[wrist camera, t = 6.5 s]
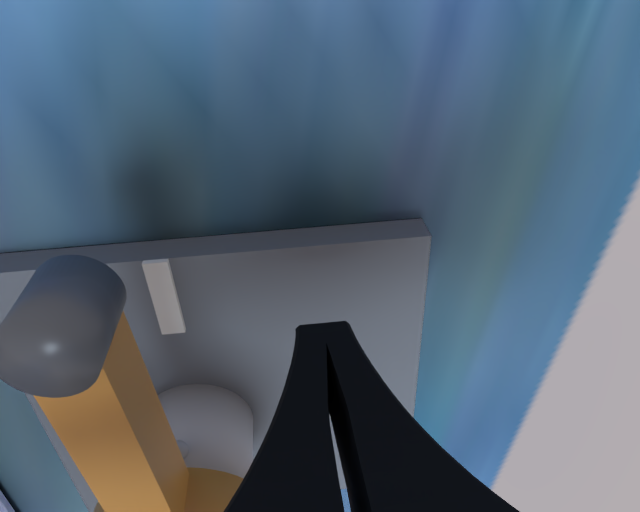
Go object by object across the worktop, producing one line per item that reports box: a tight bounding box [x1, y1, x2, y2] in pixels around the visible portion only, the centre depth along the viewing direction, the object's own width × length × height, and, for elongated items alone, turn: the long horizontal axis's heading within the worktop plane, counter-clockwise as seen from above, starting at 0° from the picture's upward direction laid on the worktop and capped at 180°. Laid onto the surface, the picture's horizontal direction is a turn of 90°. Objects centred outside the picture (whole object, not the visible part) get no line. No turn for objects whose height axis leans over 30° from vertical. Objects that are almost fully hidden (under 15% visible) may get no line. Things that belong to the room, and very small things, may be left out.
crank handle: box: [0, 255, 244, 512], centre depth 14 cm, size 14×6×3 cm, turn 5°
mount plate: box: [0, 218, 431, 512], centre depth 19 cm, size 15×14×5 cm
